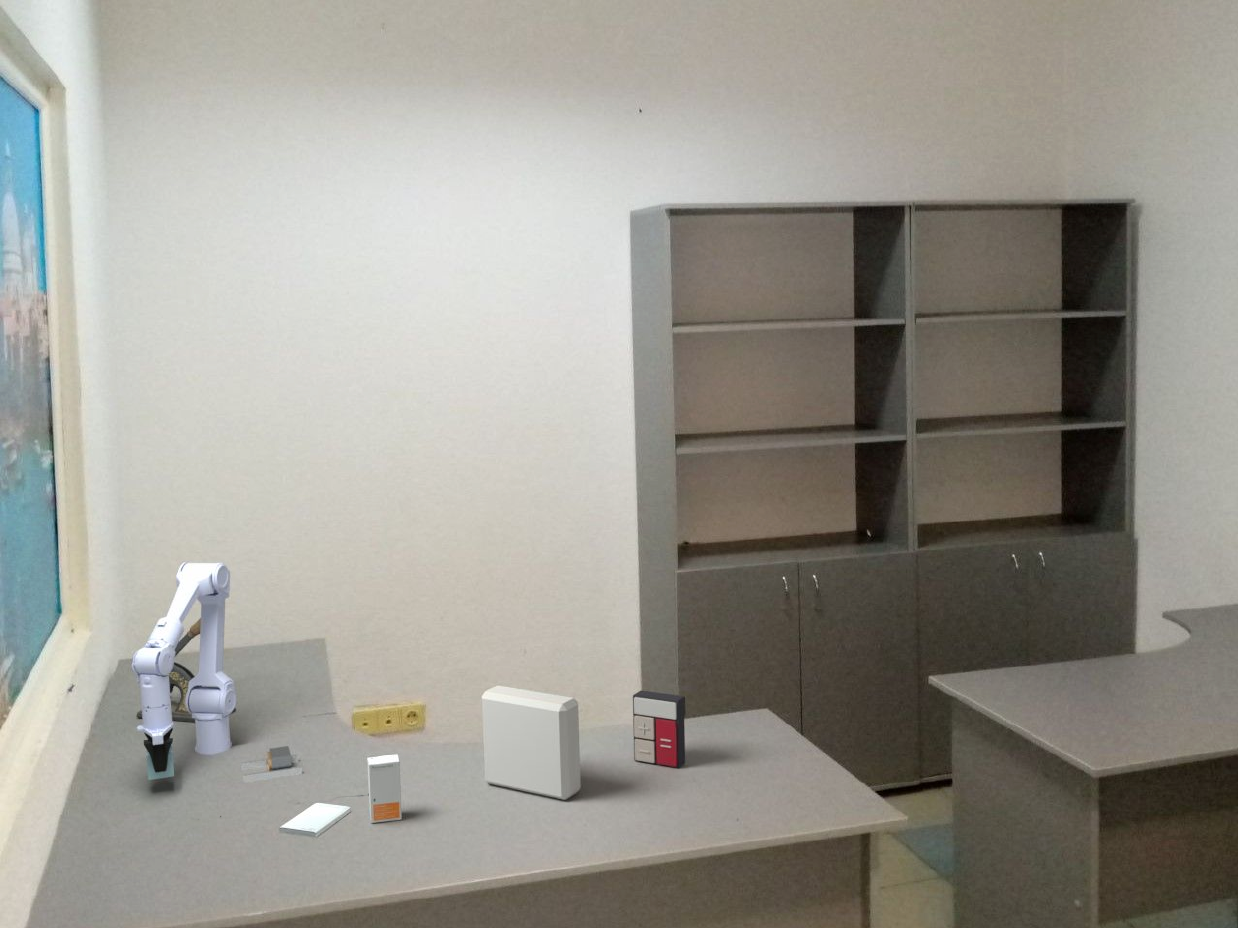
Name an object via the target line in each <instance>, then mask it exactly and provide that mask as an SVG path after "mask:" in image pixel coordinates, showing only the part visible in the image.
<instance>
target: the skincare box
mask: <svg viewBox="0 0 1238 928" xmlns="http://www.w3.org/2000/svg"><path fill="white" fill-rule="evenodd" d="M366 759H367V784H368V807H369V809H368V810H369V819H370V823H371V824H375V823H383V822H384V823H385V822H391V821H401V820H402V793H401V792H402V790H401V789H402V788H401V786H402V785H401V762H400V757H399V754H388V755H386V754H385V755H378V756H373V757H371V756H370V757H367V758H366Z"/></svg>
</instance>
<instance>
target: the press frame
mask: <svg viewBox="0 0 1238 928" xmlns="http://www.w3.org/2000/svg"><path fill="white" fill-rule="evenodd" d="M292 763H299V754H297V753H296V754H291V764H292ZM259 768H268V766H267V758H263V759H257V760H250V761H249V760H248V761H244V762H243V761H242V762H240V770H241V771H245V770H252V769H259ZM297 775H303V766H302V765H299V766H292V767H291V768H284V769H278V770H271V771H269V770H266V771H259V772H258V771H257V772H252V773H251V772H250V773H245V774H242V782H243V783H250V782H257V781H264V780H270V779H276V778H283V777H284V778H285V777H289V776H297Z"/></svg>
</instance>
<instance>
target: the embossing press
mask: <svg viewBox="0 0 1238 928" xmlns="http://www.w3.org/2000/svg"><path fill="white" fill-rule="evenodd" d="M200 628H201V617H199V619H198V620H197V621H196V622H194V624H193V625H191V626H190V628H189V630H188V631H187V632H186V634H185V635H184V636H183V637H181V638H180V640H179V642H178V644H177V646H176V648H175V652H176V653H175V657H177V655H178V654H179V653H180V652H181V651H183V650H184V648H185V647H186V646H187V645H188V644H189V643H190V642H191V640H192V639H194V638H196V637H197V636H200ZM195 676H196V675H194V673H193V672H192V671H191V670H190V669H189V668H187V667H186V666H184V665H182V664H180V663H178V662H176V661H174V665H173V669H172V670H171V672H170V673H169V685H170V694H172V693H173V691H174V688H175V687H176V688H178V690H179V692H180V699H179V701H173V700H171V712H172V721H175V722H177V721H179V722H190V723H195V718H192V714H190V713H189V712H188V711H187V709H186V706H185V697H186V694H187V691H188V685H189V681H190V680H191V679H193V678H194V677H195ZM170 698H171V699H172V698H173V697H172V696H171V695H170ZM236 712H237V708H236V707H235V708H234V710H233V711H232V712H231V714H229V716H231V715H232V714H234V713H236ZM136 718H142V709H141V710H139V711H137V713H136Z"/></svg>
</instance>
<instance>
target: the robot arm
mask: <svg viewBox="0 0 1238 928" xmlns="http://www.w3.org/2000/svg"><path fill="white" fill-rule="evenodd" d="M175 580H176V581H175V583H176V587H177V589H176V590H175V594H174V595H173V598H172V601H171V603H170V606H169V609H168V612H167V613H166V615H165V617H161V618H159V619H158V620H157V622H156V624H155V626H154V628H153V630H152V631H151V634H150V635H149V637H148V639H147V642H146V643H145V645H144V647H141V648H140V649H138V650H137V651H136V652H135V653H134V655H133V658H132V664H131V668H132V672H133V674H134V675H135V678H136V683H137V684H138V685H139V691H140V703H141V704H140V705H141V710H142V724H140V725H137V726H136V731H137V732H143V733H144V735H145V737H146V738H147V739H143V747H145V750H146V751H147V750H148V752H149V754H150V757H151V760H152V763H153V767H154V770H155V772H156V773H157V772H164V771H166V769H167V762H168V753H169V749H170V747H171V746H172V744H173V741H174V738H173V737H171V735H172V733H173V730H174V726H175V725H174V720H172V712H171V701H172V698H170V696H171V693H170V685H169V673H170V672H171V670H172V669H173V665H174V662H175V657H176V656H175V653H176V652H175V648H176V646H177V644H178V642H179V641H180V640H181V639H182V636H183V634H184V632H185V628H184V625H183V622H184V620H185V619H186V617H187V616H188V614H189V612H190V610H191V609H192V608H193V606H194V604H195V602H196V601H198V602H199V603H200V618H201V628H200V634H199V654H198V655H199V658H198V659H199V660H198V673H197V674H196V675H194V676H195V677H194V678H193V679H191V680H190V681H189V685H188V691H187V694H186V697H185V706H186V709H187V711H188V712H189V713H190V714H192V718H195V722H194V723H195V725H194V726H195V736H196V738H195V739H196V745H195V746H194V750H195V751H194V752H197V753H198V754H200V755H217V754H222V753H224V752H226V751H228V750H230V749H231V747H233V742H232V741H231V731H230V717H229V716H230V715H229V714H231V712H232V711H233V710H234V708H236V704H237V695H236V694H237V693H236V691H235V681H234V680H233V679H232V678H231V677H229V676H228V675H227V674H226V673H225V672H224V650H225V649H224V648H225V647H224V646H225V645H224V644H225V622H226V621H225V620H226V618H225V617H226V599H228V598H229V597H230V588H231V587H230V586H231V585H230V584H231V582H230V581H231V571H230V570H229V569H228V566H227V565H226V564H225V563H224V562H189V561H184V562H183V563H182V564H180V566H179V568H178V570H177V574H176V575H175ZM231 715H232V714H231Z"/></svg>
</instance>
